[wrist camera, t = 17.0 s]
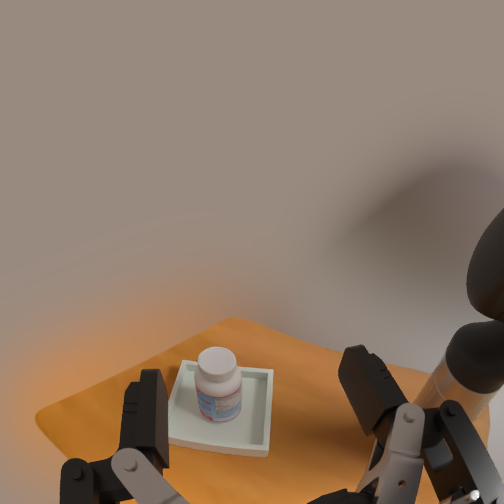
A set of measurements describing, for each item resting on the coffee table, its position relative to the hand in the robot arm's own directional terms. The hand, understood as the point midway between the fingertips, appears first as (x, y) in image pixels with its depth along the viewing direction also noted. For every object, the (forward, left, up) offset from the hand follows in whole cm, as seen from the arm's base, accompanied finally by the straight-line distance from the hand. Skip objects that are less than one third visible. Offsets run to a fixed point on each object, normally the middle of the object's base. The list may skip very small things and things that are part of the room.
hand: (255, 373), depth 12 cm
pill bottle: (+5, -15, -28) cm, 32 cm away
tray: (+5, -15, -29) cm, 33 cm away
